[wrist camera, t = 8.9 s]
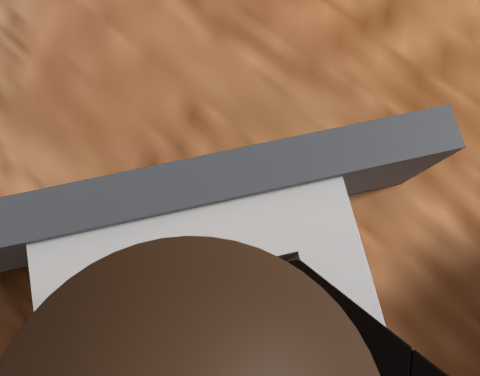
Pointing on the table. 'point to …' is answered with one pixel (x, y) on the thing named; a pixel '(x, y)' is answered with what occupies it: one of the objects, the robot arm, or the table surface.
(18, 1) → the table surface
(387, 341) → the robot arm
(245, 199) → the socket block
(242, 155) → the backstop wall
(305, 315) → the dowel
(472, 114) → the table surface
